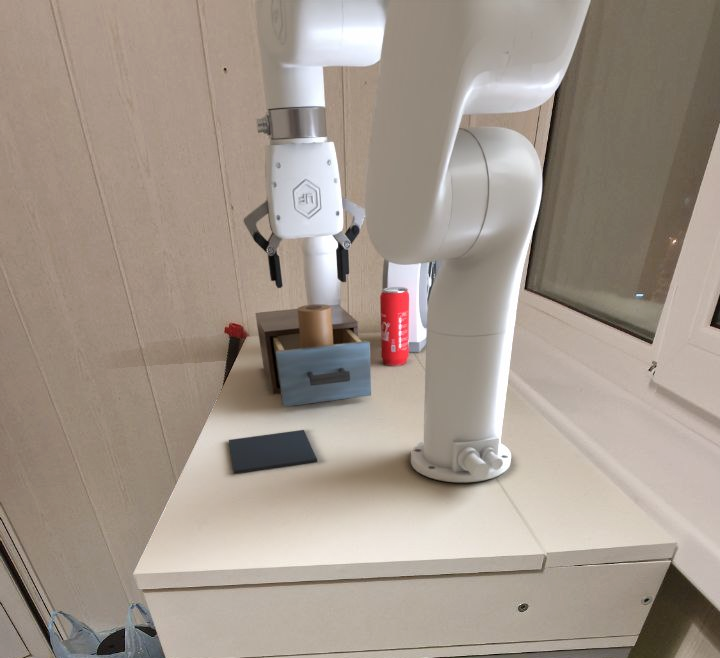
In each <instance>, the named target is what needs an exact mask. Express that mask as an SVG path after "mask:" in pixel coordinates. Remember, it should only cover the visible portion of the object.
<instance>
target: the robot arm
mask: <svg viewBox="0 0 720 658" xmlns="http://www.w3.org/2000/svg"><path fill="white" fill-rule="evenodd" d="M591 1H592V0H254V6H255V7H254V9H255V18H256V29H257V36H258V37H257V38H258V47H259V56H260V64H261V73H262V81H263V83H262V84H263V92H264V102H265V109H266V112H265V115H264V116H262V117H261V118H256V119H255V121H256V129H257V133H258V134H261V133H263V134H264V135H266V136H268V140H269V144H267V145H265V149H264V150H265V151H264V153H265V155H264V157H265V158H264V167H265V171H264V173H265V176H264V177H265V195H266V200H264V201H263V202H261V203H260V204H258V205H257V207H255V208H254V209H252V211H250V212H249V213H248V214H246V215H245V216H244V217H243V219H242V220H243V221H242V222H243V224H244V225H245V228H246V229H247V231H248V233H249V234H250V236H251V238H252V240H253V241H254V242H255V243H256V245H258V246H259V247H260V248H261V249H262V250H263V252H265V253H266V254H267V261H268V270H269V277H270V281H271V282H274V283H275V286H276V288H277V289H281V288H283V278H282V268H281V261H280V256H279V255H278V252H277V250H278V248H279V246H280V244H281V242H282V240H283V239H284V240H285V239H286V240H293V239H303V238H307V237H320V236H330V235H332V236H333V237H334V239H335V240H336V241H337V242H338V248H337V249H336V260H337V277H338V279H339V280H340V282H341V283H347V275H349V274H350V259H349V258H350V256H349V255H350V254H349V249H350V248H351V246H352V244H353V243H354V242H355V240H356V239H357V237H358V236H359V234H360V230H361V227H362V225H363V222H364V220H365V226H366V230H367V233H368V237H369V240H370V243H371V245H372V246H373V248H374V250H375V251H376V252H377V254H378V255H379V256H380V257H381V258H382V259H385V260H387V261H389V262H391V263H394V264H399V265H411V264H420V263H427V262H434V261H440V260H442V263H441V265H440V268H439V270H438V272H437V275H436V277H435V280H434V283H433V286H432V289H431V292H430V297H429V302H428V309H427V332H426V345H425V364H424V365H425V367H424V369H425V371H424V372H425V374H424V405H423V408H424V409H423V441H421V442H420V443H418V444H417V445H416V446H415V447H413V448H412V450H411V452H410V464H411V466H412V468H413V469H414V470H415V471H416V472H417V473H419V474H420V475H421V476H424V477H427V478H429V479H432V480H437V481H442V482H448V483H477V482H482V481H487V480H490V479H494V478H496V477H498V476H500V475H502V474H503V473H505V472H507V470H508V469H509V468H510V466H511V462H512V461H511V459H512V453H511V451H510V450H509V448H508V447H507V446H506V445H504V444H503V443H501V438H502V430H503V422H504V415H505V414H504V413H505V405H506V398H507V390H508V381H509V372H510V365H511V355H512V348H513V341H514V340H513V339H514V333H515V332H514V331H515V325H516V318H517V317H516V316H517V309H518V301H519V295H520V289H521V281H522V277H523V276H522V275H523V272H524V267H525V266H524V265H525V262H526V257H527V253H528V249H529V247H530V246H529V245H530V243H531V239H532V236H533V231H534V229H535V225H536V222H537V218H538V215H539V209H540V207H541V205H540V204H541V200H542V195H543V194H542V192H543V172H542V165H541V160H540V158H539V155H538V152H537V150H536V148H535V147H534V145H533V143H532V142H531V141H530V140H528V138H527V137H526V136H524V135H523V134H521V133H520V132H518V131H516V130H513V129H510V128H507V127H502V126H466V127H460V126H461V122H462V119H463V116H468V115H472V116H473V115H493V114H512V113H521V112H526V111H530V110H533V109H536V108H537V107H540V106H542V105H543V104H545V103H546V102H547V101H549V99H551V97H552V96H553V95H554V93H556V91H557V89H558V88H559V86H560V85H561V83H562V81H563V79H564V78H565V75H566V72H567V70H568V68H569V65H570V63H571V60H572V57H573V56H574V55H573V54H574V52H575V49H576V46H577V43H578V40H579V38H580V34H581V32H582V29H583V26H584V23H585V19H586V17H587V13H588V11H589V7H590V6H591V5H590V4H591ZM378 62H379V65H378V74H377V80H376V81H377V82H376V89H375V98H374V107H373V113H372V114H373V115H372V122H371V130H370V138H369V144H368V145H369V148H368V153H367V154H368V155H367V162H366V169H365V170H366V172H365V180H364V181H365V182H364V206H363V207H364V208H362V207H361V206H359V205H357V204H356V203H354V202H352V201H351V200H349V199H348V198H345V197H344V196H342V189H341V180H340V172H339V171H340V170H339V164H338V163H339V162H338V158H337V152H336V147H335V143H334V141H328V137H327V136H328V132H327V115H326V100H325V99H326V97H325V81H324V67H326V68H328V67H356V68H357V67H370V66H373V65H375V64H376V63H378ZM344 212H347V213H349V214H350V215H351V216H352V220H351V224H350V226H349V227H348V228H347V230H346V232H345V233H344V232H343V228H344ZM265 216H267V218H268V224H269V229H270V231H271V233H270V235H269V237H268V239H267V238H265V237H264V236H263V235H262V234H261V232H260V231H259V228H258V226H257V223H258V222H260V221H261V219H264V217H265Z"/></svg>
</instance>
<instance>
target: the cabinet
mask: <svg viewBox="0 0 720 658" xmlns="http://www.w3.org/2000/svg"><path fill="white" fill-rule="evenodd" d="M329 306H330V307H331V317H332V330H335V329H344V328H349V329H350V330H351V331H352V332H353V333H354V334H355V335H356V336H357V337H358V338H359V322H358V320H357V319H356V318H354V317H353V316H352V315H351V314H350V313H349V312H348V311H347V310H345V309H344V308H343V307H342V305H341V306H340V305H329ZM255 319H256V326H257V333H258V341H259V345H260V353H261V359H262V366H263V371H264V374H265V377H266V378H267V382H268V384H269V387H270V389H271V392H272V394H281V389H280V385H279V383H278V380H277V377H276V370H275V363H274V356H273V349H272V341H271V336H280V335H289V334H298V333H300V332H299V322H298V313H297V308H291V309H281V310H280V309H279V310H272V311H260V312H255ZM359 339H360V338H359Z"/></svg>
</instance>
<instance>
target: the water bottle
mask: <svg viewBox="0 0 720 658" xmlns="http://www.w3.org/2000/svg"><path fill="white" fill-rule="evenodd" d="M300 248H301V252H302V254H303V255H302V256H303V259H302V260H303V275H304V276H303V277H304V287H305V296H306V302H307V305H313V304H324V305H340V306H341V307H342V305H341V304H342V303H341V302H342V291H341V281H340V280H339V279H338V277H337V260H336V249H337V248H338V242H337V241H336V240H335V239H334V237H333V236H332V235H330V236H320V237H307V238H302V240H301V247H300Z"/></svg>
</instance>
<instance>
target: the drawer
mask: <svg viewBox="0 0 720 658" xmlns="http://www.w3.org/2000/svg"><path fill="white" fill-rule="evenodd" d="M332 331H333V345H327V346H318V347H309V348H301V341H300V333H298V334H289V335H280V336H271V341H272V349H273V356H274V363H275V370H276V377H277V380H278V383H279V385H280V389H281V393H280V395H281V404H282V406H283V407H293V406H301V405H307V404H316V403H325V402H330V401H331V402H332V401H339V400H346V399H354V398H355V399H356V398H362V397H369V396H370V397H371V396H372V376H371V374H372V373H371V345H370V342H369V341H368V340H363V341H362V339H360V338H358V337H359V336H358V337H357V336H356V335H355V334H354V333H353V332H352V331H351V330H350V329H349V328H344V329H335V330H332Z"/></svg>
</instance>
